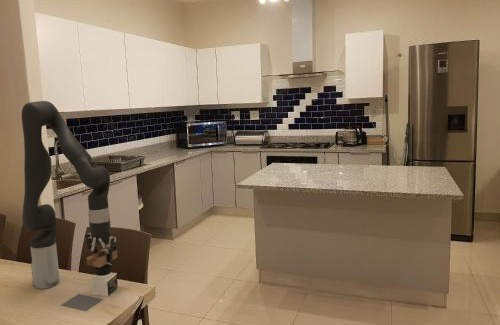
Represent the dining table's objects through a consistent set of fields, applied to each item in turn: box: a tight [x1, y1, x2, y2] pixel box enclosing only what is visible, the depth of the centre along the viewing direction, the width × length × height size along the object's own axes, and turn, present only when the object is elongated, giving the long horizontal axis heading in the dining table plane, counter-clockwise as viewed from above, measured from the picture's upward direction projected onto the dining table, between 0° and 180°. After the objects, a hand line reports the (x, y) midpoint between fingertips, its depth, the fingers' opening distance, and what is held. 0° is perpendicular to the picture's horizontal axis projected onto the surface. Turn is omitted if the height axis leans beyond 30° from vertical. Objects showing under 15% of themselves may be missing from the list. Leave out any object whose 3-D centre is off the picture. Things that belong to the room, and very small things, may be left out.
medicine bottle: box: [90, 262, 119, 297], centre depth 156 cm, size 7×7×12 cm
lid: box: [86, 248, 118, 268], centre depth 154 cm, size 6×10×4 cm, turn 159°
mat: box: [60, 293, 104, 312], centre depth 149 cm, size 12×9×1 cm
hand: (102, 260), depth 155 cm, fingers closed on lid, 5 cm apart
